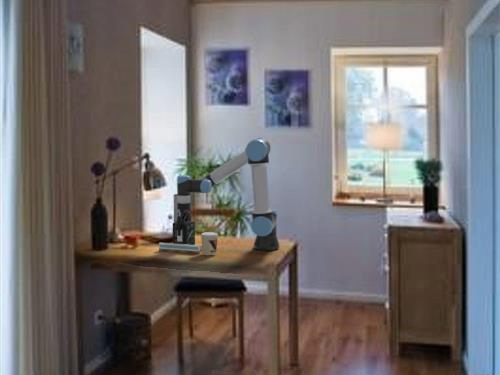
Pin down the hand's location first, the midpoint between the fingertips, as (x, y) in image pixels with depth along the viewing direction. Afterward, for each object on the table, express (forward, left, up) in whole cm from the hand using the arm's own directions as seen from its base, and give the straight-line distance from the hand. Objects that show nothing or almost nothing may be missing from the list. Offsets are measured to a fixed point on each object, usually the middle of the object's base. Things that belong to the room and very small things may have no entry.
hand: (183, 238), depth 383 cm
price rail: (0, +8, -5) cm, 9 cm away
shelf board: (0, +2, -6) cm, 6 cm away
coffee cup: (-18, +8, -6) cm, 21 cm away
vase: (+13, -31, -6) cm, 34 cm away
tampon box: (0, 0, -5) cm, 5 cm away
